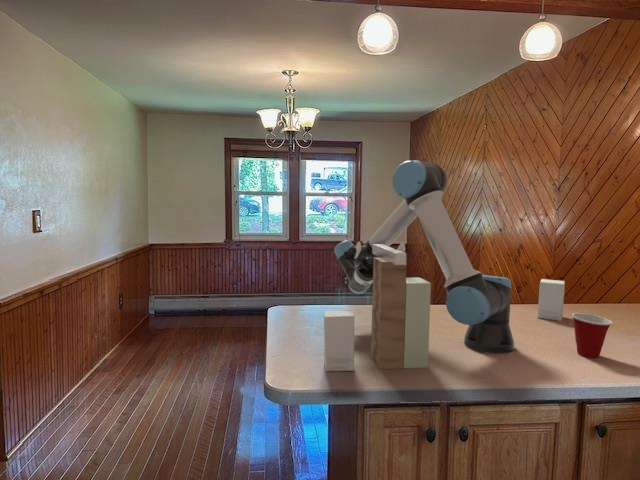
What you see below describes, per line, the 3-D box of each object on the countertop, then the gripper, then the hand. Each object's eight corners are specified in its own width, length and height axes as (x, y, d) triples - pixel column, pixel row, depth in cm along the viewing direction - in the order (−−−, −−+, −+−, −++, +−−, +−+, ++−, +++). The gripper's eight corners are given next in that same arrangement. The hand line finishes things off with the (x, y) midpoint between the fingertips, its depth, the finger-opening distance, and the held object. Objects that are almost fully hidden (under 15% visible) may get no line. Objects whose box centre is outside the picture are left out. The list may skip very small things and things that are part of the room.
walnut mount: (370, 357, 133) (373, 257, 131) (393, 356, 134) (396, 257, 132) (378, 369, 125) (381, 261, 122) (403, 368, 126) (406, 261, 123)
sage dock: (394, 356, 134) (396, 277, 132) (416, 356, 135) (419, 277, 133) (403, 368, 126) (406, 283, 123) (427, 367, 126) (430, 283, 124)
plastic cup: (611, 363, 131) (614, 323, 130) (569, 357, 137) (571, 318, 135) (608, 353, 141) (611, 315, 140) (569, 347, 146) (571, 310, 145)
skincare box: (352, 363, 129) (353, 310, 127) (354, 372, 122) (355, 316, 121) (322, 363, 128) (323, 309, 127) (323, 372, 122) (324, 315, 120)
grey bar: (372, 253, 140) (372, 244, 140) (381, 253, 141) (381, 244, 141) (394, 264, 117) (395, 253, 116) (406, 264, 117) (406, 253, 117)
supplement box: (562, 321, 178) (564, 284, 176) (537, 318, 182) (539, 281, 181) (563, 316, 185) (565, 280, 184) (538, 313, 190) (541, 278, 188)
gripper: (403, 281, 154) (423, 257, 135) (331, 281, 151) (341, 257, 132) (400, 260, 157) (419, 234, 138) (329, 261, 154) (339, 234, 135)
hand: (381, 245), depth 135 cm, fingers open, 13 cm apart
